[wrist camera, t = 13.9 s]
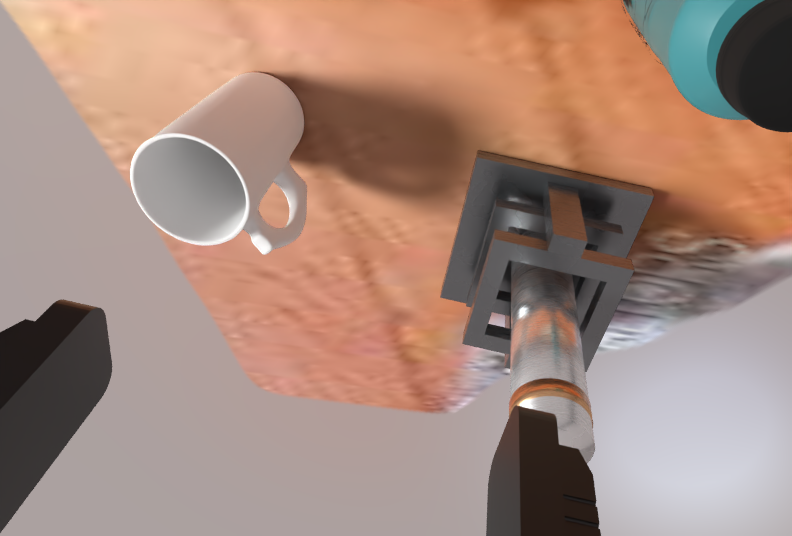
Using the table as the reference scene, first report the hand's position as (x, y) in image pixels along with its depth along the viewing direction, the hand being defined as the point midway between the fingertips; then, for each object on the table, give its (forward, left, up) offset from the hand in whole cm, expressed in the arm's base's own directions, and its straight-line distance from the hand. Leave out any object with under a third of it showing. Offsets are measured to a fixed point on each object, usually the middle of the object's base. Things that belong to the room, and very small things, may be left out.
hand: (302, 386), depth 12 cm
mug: (+10, +10, -32) cm, 35 cm away
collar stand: (-10, +14, -32) cm, 36 cm away
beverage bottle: (-12, -5, -32) cm, 35 cm away
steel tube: (-10, +14, -31) cm, 35 cm away
